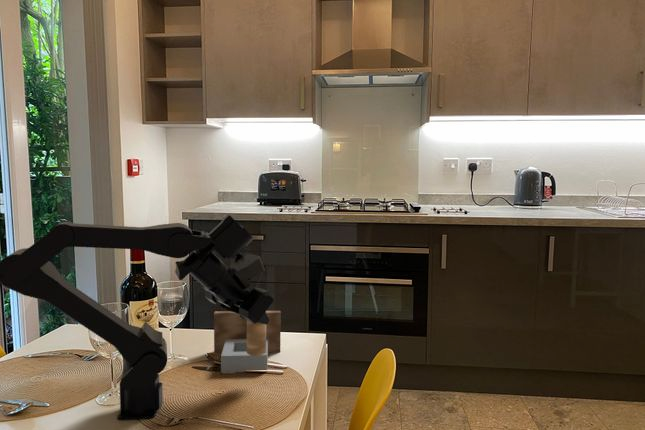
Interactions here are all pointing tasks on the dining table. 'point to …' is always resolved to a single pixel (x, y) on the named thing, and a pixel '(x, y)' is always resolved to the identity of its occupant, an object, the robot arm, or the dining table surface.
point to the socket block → (241, 357)
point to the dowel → (256, 338)
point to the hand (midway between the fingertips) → (262, 319)
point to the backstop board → (244, 329)
